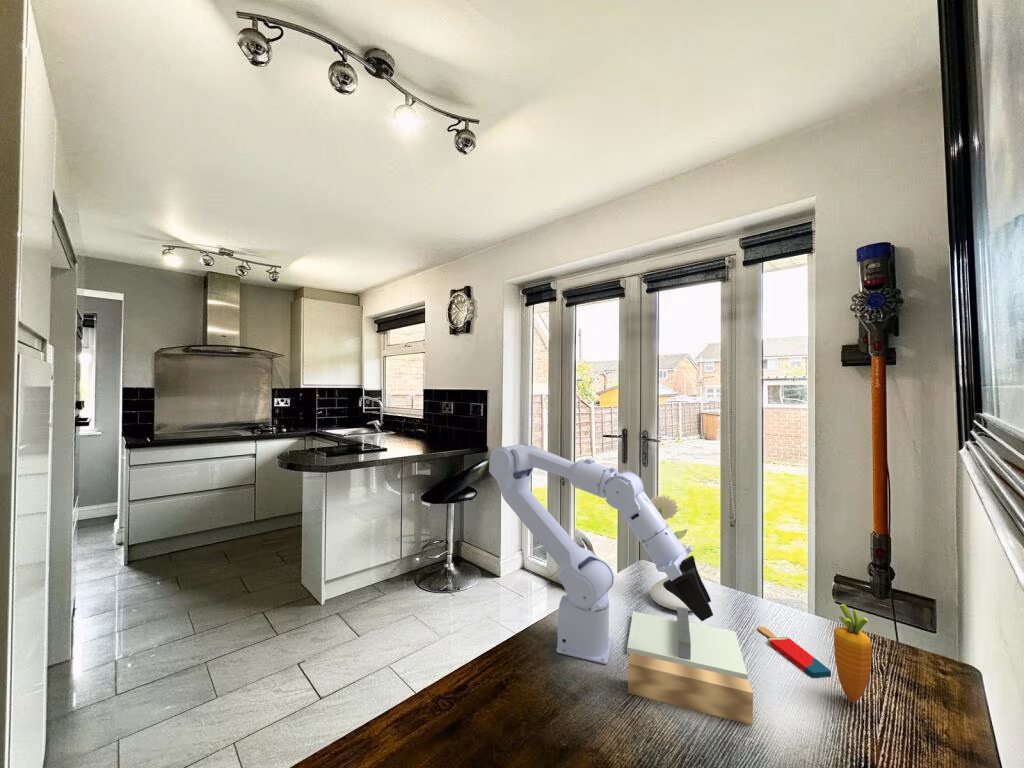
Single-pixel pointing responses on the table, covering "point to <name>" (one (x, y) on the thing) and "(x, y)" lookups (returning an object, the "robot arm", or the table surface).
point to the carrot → (852, 655)
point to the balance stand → (686, 643)
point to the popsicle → (796, 655)
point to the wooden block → (691, 688)
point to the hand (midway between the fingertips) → (706, 610)
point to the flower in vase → (667, 510)
